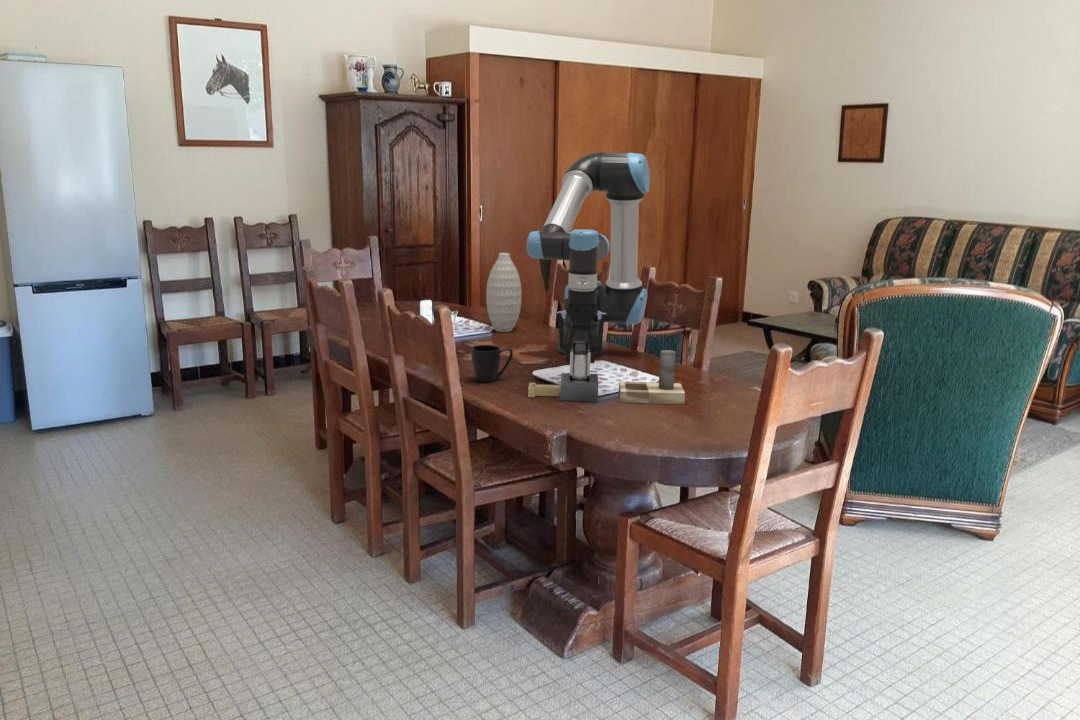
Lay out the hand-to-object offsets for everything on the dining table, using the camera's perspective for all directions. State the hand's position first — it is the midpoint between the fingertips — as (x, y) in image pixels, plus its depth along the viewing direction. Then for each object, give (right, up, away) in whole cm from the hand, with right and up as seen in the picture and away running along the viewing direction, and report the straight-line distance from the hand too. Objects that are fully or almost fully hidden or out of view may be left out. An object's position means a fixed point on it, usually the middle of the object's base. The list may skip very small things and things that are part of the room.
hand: (579, 374), depth 232 cm
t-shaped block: (-8, -6, +2) cm, 10 cm away
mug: (-25, -2, +16) cm, 29 cm away
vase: (-24, +14, +81) cm, 86 cm away
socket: (0, -6, +1) cm, 6 cm away
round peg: (0, -6, +1) cm, 6 cm away
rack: (+19, -7, +1) cm, 20 cm away
